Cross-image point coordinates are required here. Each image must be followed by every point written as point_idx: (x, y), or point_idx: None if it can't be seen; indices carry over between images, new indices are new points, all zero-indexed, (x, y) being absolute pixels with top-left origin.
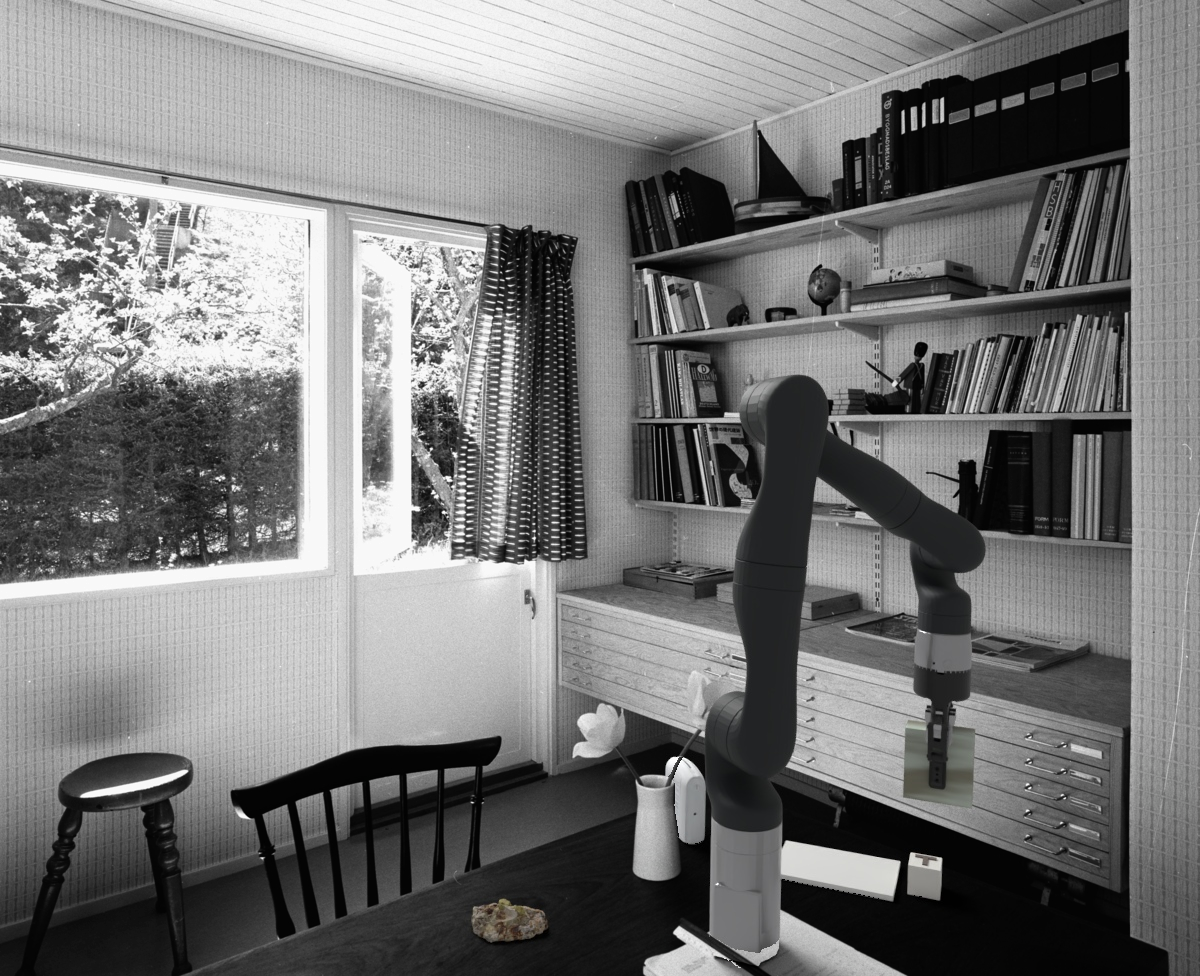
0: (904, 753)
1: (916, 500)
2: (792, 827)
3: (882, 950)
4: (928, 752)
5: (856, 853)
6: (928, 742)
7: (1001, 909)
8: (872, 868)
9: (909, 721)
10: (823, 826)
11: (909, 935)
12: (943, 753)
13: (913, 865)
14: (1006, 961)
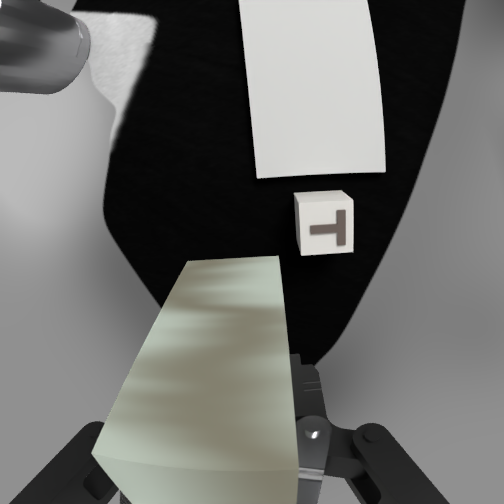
0: (141, 348)
1: None
2: (427, 4)
3: (119, 193)
4: (68, 446)
5: (380, 101)
6: (39, 474)
7: (307, 311)
8: (339, 132)
9: (258, 477)
10: (456, 48)
11: (172, 216)
12: (86, 477)
13: (300, 211)
14: None
